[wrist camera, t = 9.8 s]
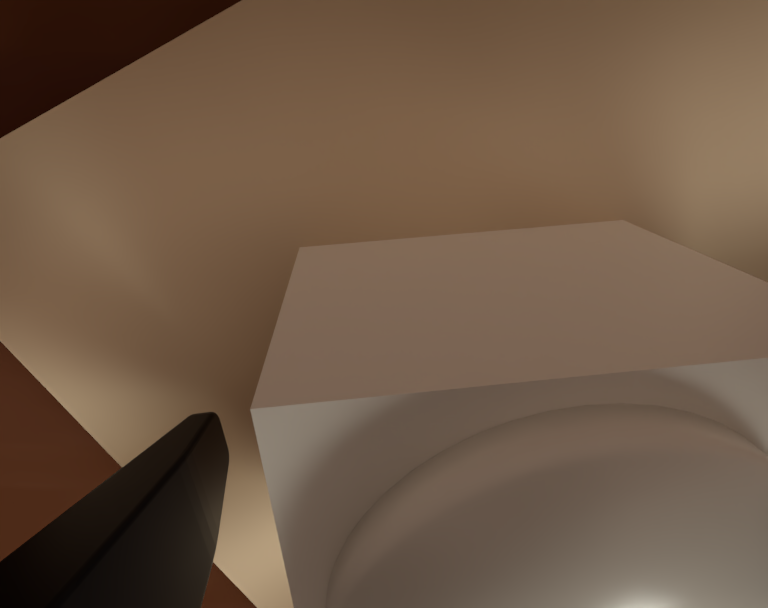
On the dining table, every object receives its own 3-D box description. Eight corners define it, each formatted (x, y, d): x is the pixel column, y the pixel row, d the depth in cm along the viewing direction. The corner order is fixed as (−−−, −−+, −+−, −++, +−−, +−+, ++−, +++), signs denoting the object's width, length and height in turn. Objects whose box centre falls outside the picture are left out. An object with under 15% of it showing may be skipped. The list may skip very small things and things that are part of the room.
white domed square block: (622, 220, 8) (997, 382, 3) (586, 467, 10) (785, 768, 6) (299, 247, 8) (233, 462, 3) (335, 495, 10) (326, 831, 5)
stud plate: (803, 444, 12) (1004, 596, 8) (321, 633, 14) (312, 830, 10) (724, -254, 6) (1211, -707, 3) (-72, 197, 8) (-421, 279, 4)
